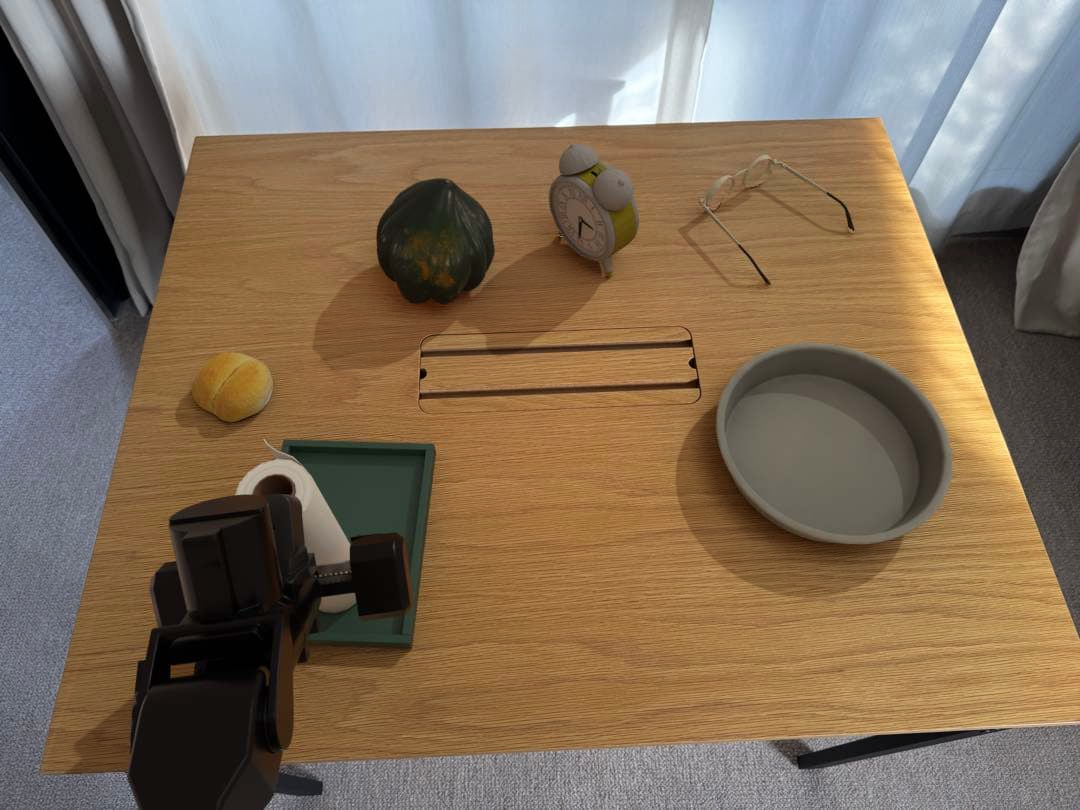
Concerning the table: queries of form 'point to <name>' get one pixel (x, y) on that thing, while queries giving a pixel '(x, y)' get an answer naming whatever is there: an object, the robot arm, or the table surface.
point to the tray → (372, 520)
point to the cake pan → (833, 444)
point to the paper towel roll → (304, 514)
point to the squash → (435, 242)
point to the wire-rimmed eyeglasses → (768, 171)
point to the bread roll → (232, 386)
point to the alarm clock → (593, 205)
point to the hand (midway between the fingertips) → (307, 547)
